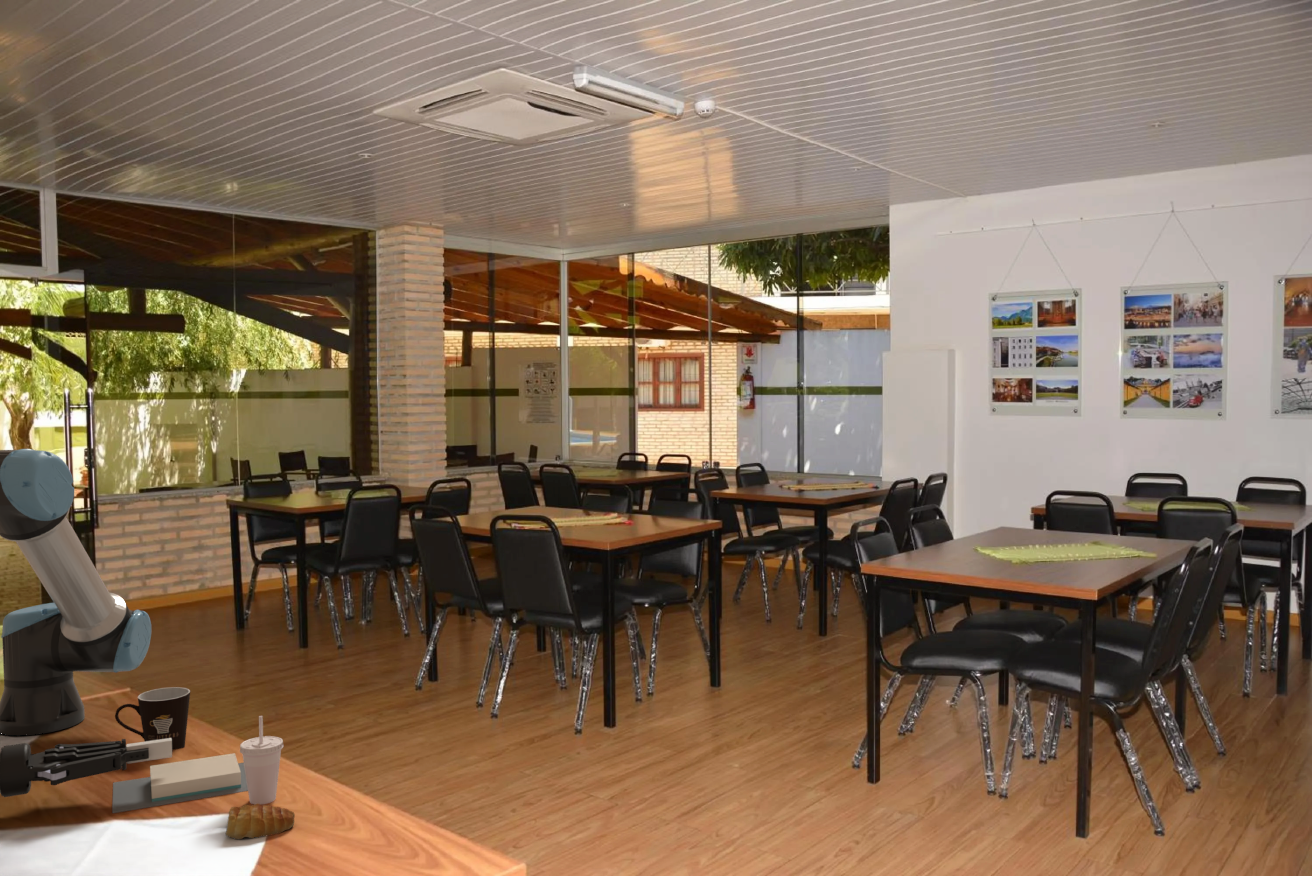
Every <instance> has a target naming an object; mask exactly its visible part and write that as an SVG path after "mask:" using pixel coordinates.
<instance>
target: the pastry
mask: <svg viewBox="0 0 1312 876" xmlns="http://www.w3.org/2000/svg"><path fill="white" fill-rule="evenodd" d="M295 815H296V814H295V812H294V811H292V810H290V809H287V808H284V807H281V806H273V805H271V804H268V805H267V804H261V805H260V804H251V805H250V804H243V805H242V806H241V807H238V806H231V807H230V809H229V811H228V817H227V818H228V819H227V825H226V831H225V836H226V837H229V838H231V839H233V838H235V839H234V840H243V839H244V838H249V839H255V838H254V837H258V838H260V837H267V836H266V835H268V836H272V835H271V834H273V835H277V834H280V833H282V832H284V831H287V830H290V829H291V828H292V827H293V826H294V824H295V817H296V816H295Z"/></svg>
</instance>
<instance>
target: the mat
mask: <svg viewBox="0 0 1312 876" xmlns="http://www.w3.org/2000/svg"><path fill="white" fill-rule="evenodd" d="M238 765H239V768H240V771H241V787H240V788H234V789H228V790H222V791H216V792H210V793H204V794H197V795H191V796H185V797H179V798H173V799H167V800H161V801H155V802H152V797H151V782H150V776H148V777H141V778H134V779H127V780H121V781H116V782H115V781H114V782H113V783H112V807H111V808H112V809H111V812H112V814H117V813H118V814H119V813H123V812H128V811H135V810H140V809H141V810H142V809H145V808H153V807H158V806H165V805H170V804H176V803H183V802H189V801H196V800H202V799H207V798H214V797H219V796H225V795H230V794H231V795H232V794H238V793H243V792H244V793H245V792H248V787H247V781H246V774H245V768H244V762H238Z"/></svg>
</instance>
